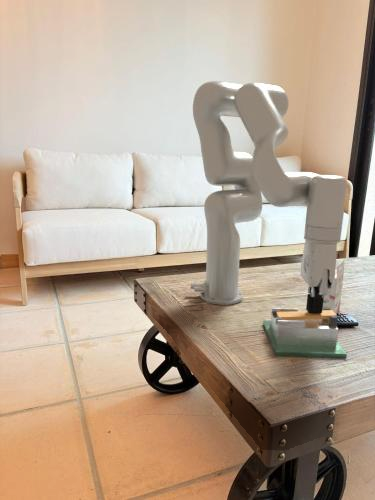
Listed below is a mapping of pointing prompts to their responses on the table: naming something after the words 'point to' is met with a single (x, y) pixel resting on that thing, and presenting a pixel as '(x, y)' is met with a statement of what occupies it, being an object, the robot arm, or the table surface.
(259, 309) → the table surface
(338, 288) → the ink cartridge box
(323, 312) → the orange wooden bar
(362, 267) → the table surface
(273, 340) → the board
